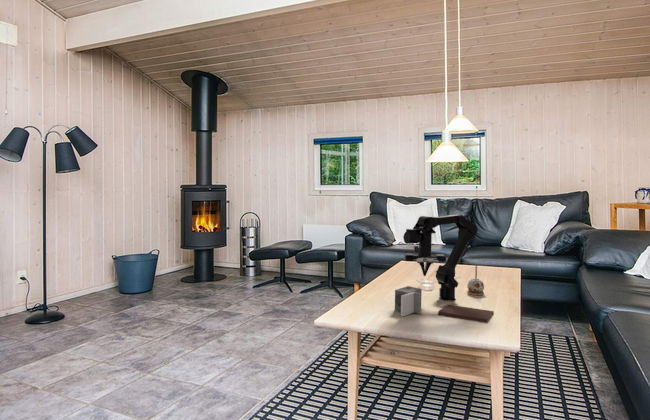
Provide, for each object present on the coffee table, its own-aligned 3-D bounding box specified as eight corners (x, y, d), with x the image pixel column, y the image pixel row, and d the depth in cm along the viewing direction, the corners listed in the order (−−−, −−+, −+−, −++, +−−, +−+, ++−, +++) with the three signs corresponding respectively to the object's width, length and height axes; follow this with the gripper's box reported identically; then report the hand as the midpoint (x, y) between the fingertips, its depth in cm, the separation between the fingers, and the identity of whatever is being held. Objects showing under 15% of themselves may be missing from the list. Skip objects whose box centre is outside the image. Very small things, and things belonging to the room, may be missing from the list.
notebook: (447, 307, 194) (447, 303, 194) (493, 314, 184) (493, 310, 184) (437, 316, 181) (438, 311, 181) (487, 324, 171) (487, 319, 171)
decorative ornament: (474, 296, 212) (475, 266, 211) (464, 292, 219) (464, 263, 218) (487, 295, 215) (488, 265, 214) (476, 291, 222) (477, 262, 221)
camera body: (407, 305, 194) (408, 284, 194) (421, 309, 189) (421, 287, 189) (392, 310, 186) (393, 289, 186) (406, 314, 181) (406, 291, 181)
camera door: (413, 311, 184) (414, 291, 184) (420, 313, 182) (421, 293, 181) (400, 315, 178) (401, 295, 177) (407, 317, 175) (408, 297, 175)
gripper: (442, 241, 208) (441, 272, 209) (403, 240, 210) (402, 271, 211) (446, 244, 197) (445, 277, 198) (405, 243, 199) (405, 276, 200)
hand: (424, 275), depth 202 cm, fingers closed
